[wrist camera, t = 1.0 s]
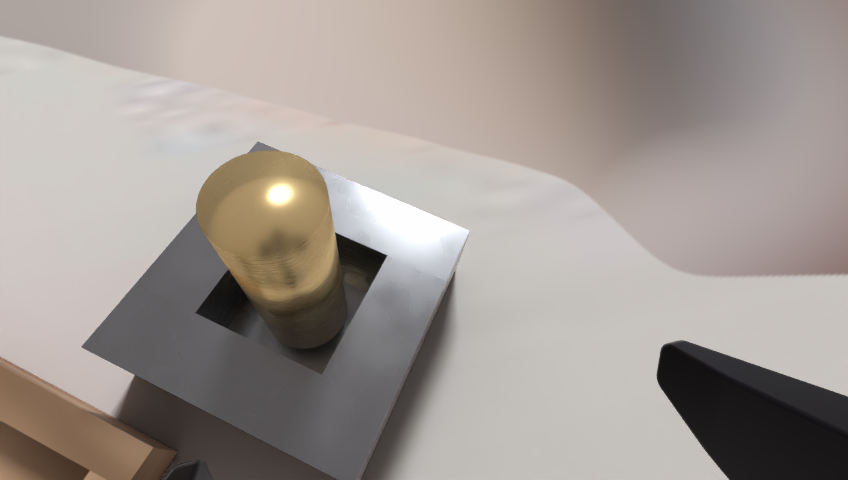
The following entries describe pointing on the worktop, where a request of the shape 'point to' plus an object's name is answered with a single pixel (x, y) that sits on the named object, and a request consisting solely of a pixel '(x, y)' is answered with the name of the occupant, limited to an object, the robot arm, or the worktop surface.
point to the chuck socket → (278, 363)
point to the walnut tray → (68, 436)
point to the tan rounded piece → (278, 242)
